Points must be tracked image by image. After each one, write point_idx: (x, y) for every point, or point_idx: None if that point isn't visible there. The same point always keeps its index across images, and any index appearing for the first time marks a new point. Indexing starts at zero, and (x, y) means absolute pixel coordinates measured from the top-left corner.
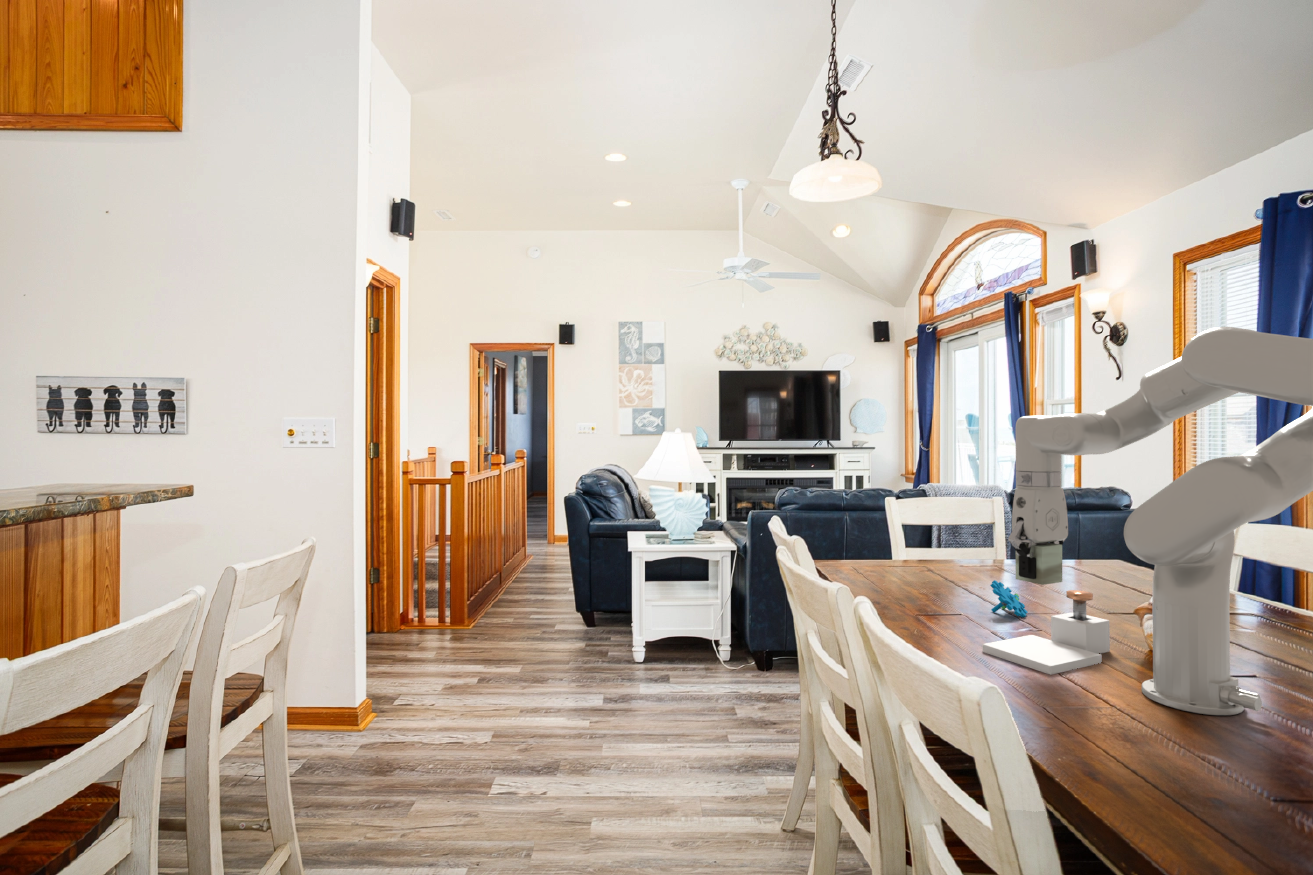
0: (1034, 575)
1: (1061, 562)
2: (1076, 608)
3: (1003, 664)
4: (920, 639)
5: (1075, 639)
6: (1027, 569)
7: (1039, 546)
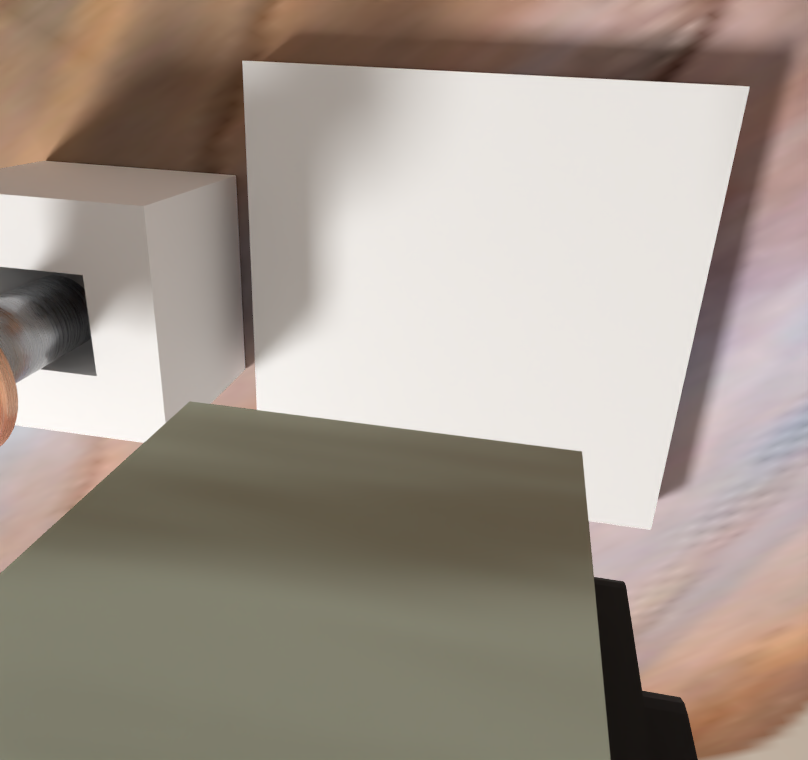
0: (625, 608)
1: (38, 561)
2: (29, 347)
3: (770, 338)
4: (711, 748)
5: (206, 254)
6: (690, 747)
7: None
